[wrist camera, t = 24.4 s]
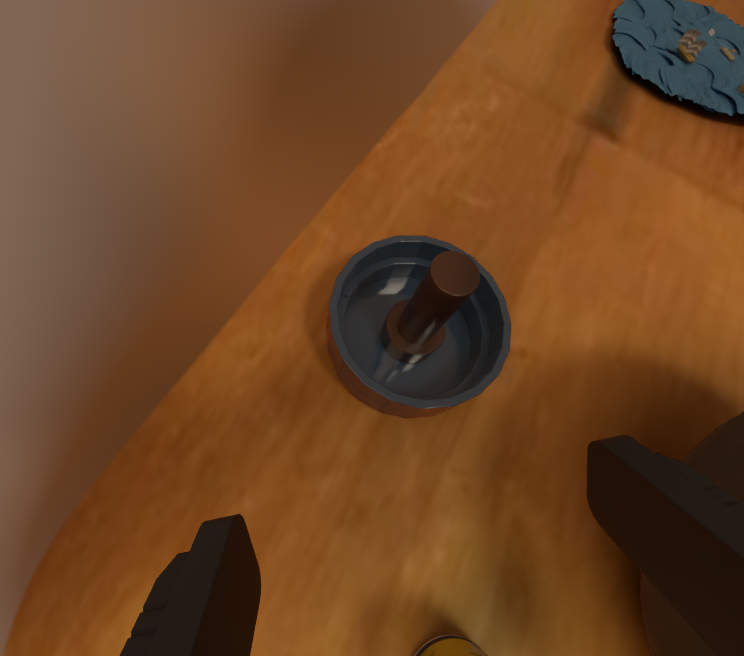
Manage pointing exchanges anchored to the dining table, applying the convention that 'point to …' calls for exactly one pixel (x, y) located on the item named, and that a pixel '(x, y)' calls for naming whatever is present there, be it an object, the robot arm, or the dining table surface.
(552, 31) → the dining table surface
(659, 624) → the pot
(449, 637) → the pill bottle
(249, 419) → the dining table surface
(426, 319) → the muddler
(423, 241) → the bowl
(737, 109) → the decorative plate
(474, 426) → the dining table surface
